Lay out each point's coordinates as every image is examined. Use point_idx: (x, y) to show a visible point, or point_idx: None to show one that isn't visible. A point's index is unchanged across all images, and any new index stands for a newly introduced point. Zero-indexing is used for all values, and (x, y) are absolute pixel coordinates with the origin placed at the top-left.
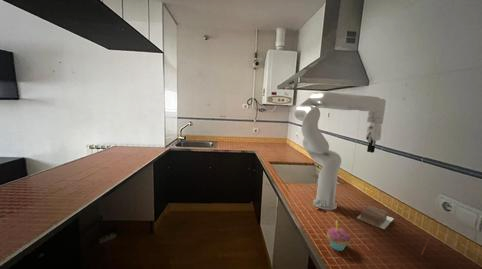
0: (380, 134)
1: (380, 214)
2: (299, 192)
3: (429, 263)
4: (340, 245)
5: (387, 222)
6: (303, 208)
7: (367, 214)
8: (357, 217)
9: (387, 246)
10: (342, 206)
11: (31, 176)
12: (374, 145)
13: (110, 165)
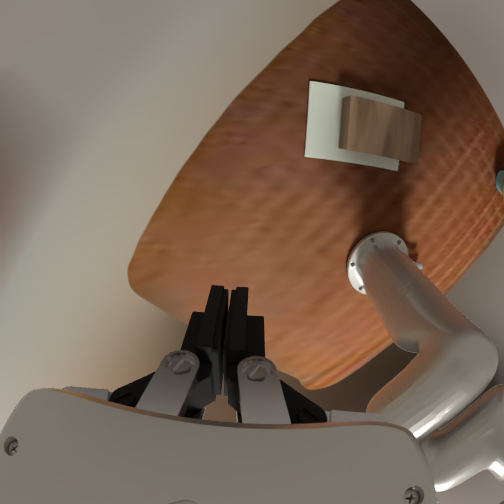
0: (18, 492)
1: (388, 113)
2: (340, 339)
3: (446, 40)
4: None
5: (357, 94)
6: None
7: (417, 146)
8: (394, 169)
9: (456, 99)
10: (347, 224)
11: None
12: (191, 355)
13: None
